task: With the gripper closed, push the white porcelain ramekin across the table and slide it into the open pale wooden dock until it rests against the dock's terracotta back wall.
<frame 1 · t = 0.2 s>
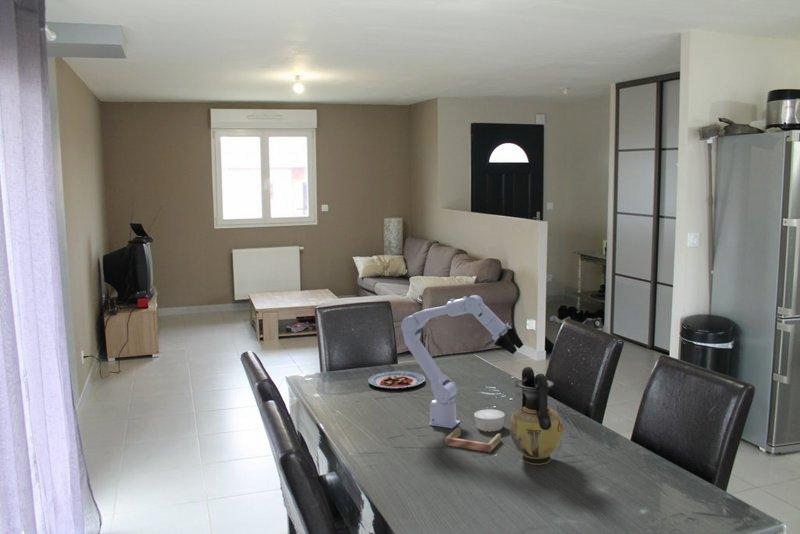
hand: (518, 349, 246), 31 cm above the table, tool tilted 45°, fingers open, 7 cm apart
ceramic plate: (396, 384, 316), on the table
ramekin: (489, 428, 257), on the table
coffee box: (524, 425, 258), on the table
amphora: (536, 460, 226), on the table
dock: (473, 442, 243), on the table
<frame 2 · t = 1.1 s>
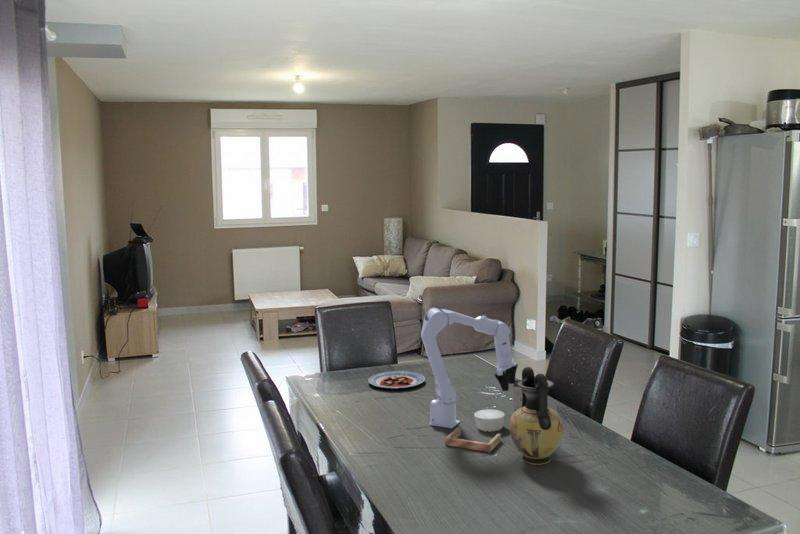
hand: (508, 387, 264), 12 cm above the table, tool pointing down, fingers open, 7 cm apart
nothing on the table moved.
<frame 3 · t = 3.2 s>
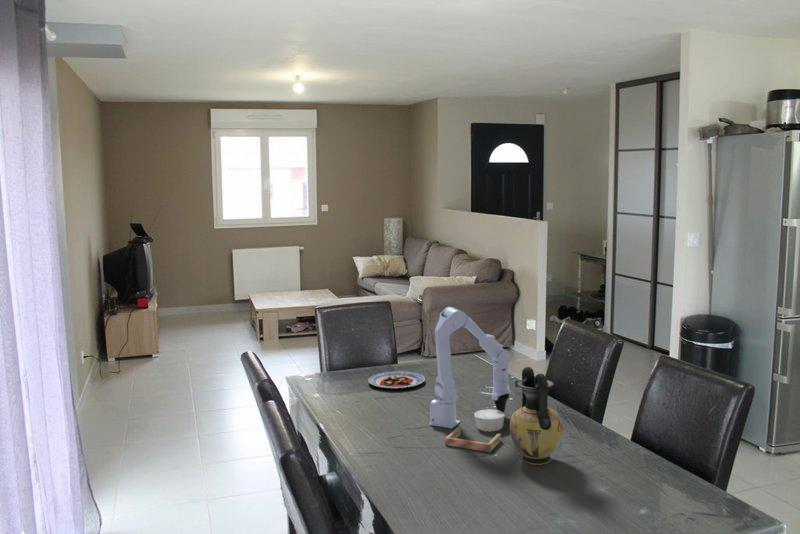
hand: (500, 412, 268), 1 cm above the table, tool pointing down, fingers closed
nothing on the table moved.
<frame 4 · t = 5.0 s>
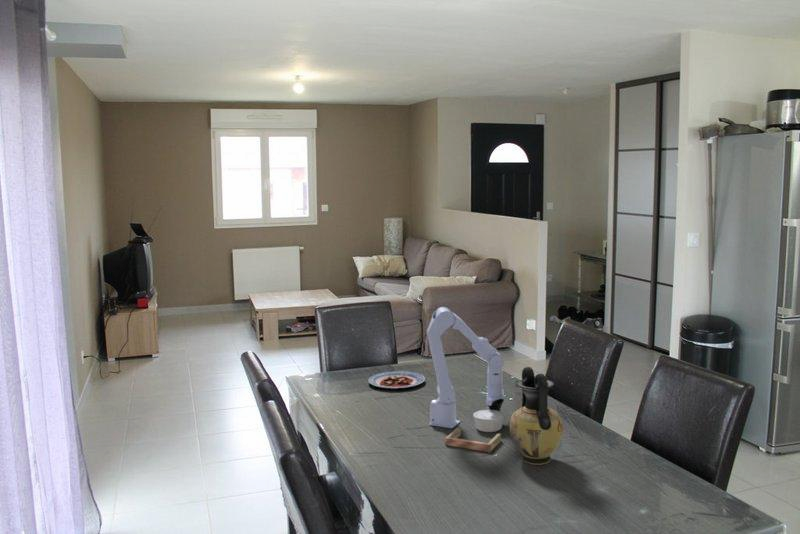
hand: (495, 418, 262), 1 cm above the table, tool pointing down, fingers closed
ramekin: (488, 428, 256), on the table, touching gripper
everything else where it was.
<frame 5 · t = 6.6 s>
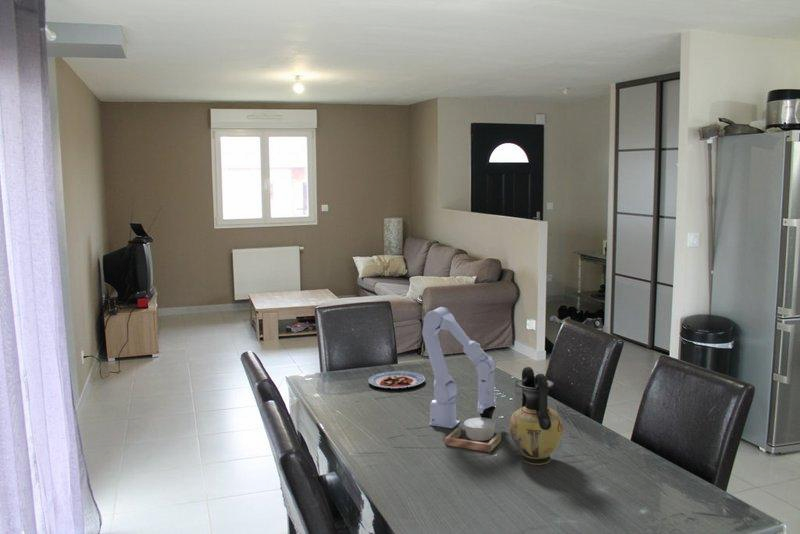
hand: (486, 426, 254), 1 cm above the table, tool pointing down, fingers closed
ramekin: (479, 437, 248), on the table, touching gripper
everything else where it was.
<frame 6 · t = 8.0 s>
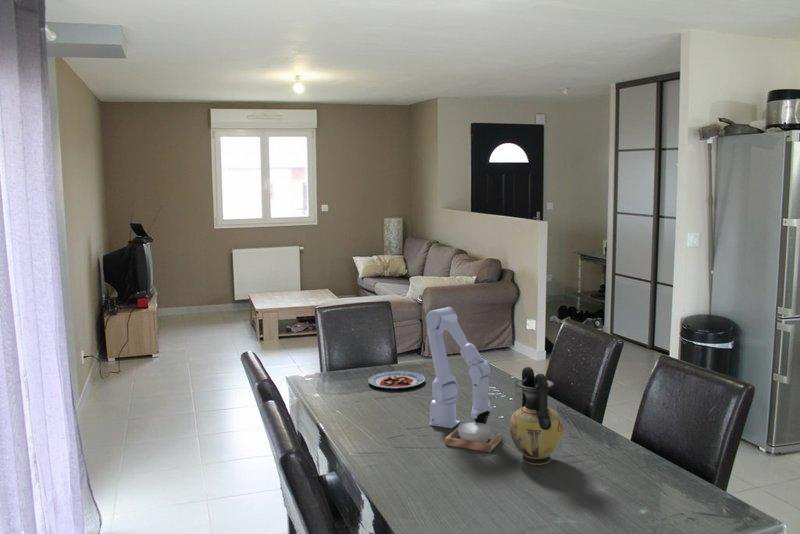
hand: (481, 431, 249), 1 cm above the table, tool pointing down, fingers closed
ramekin: (474, 442, 243), on the table, touching dock, gripper
everything else where it was.
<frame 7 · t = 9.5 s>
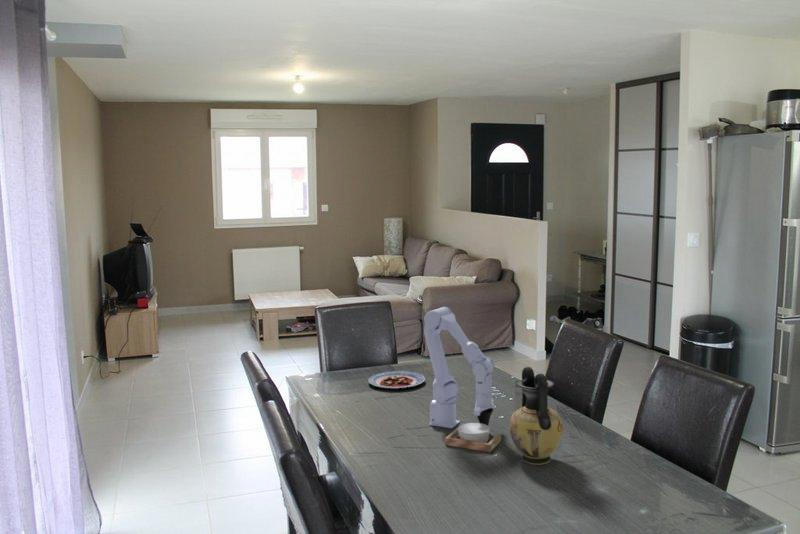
hand: (484, 428, 252), 1 cm above the table, tool pointing down, fingers closed
ramekin: (474, 443, 243), on the table
everything else where it was.
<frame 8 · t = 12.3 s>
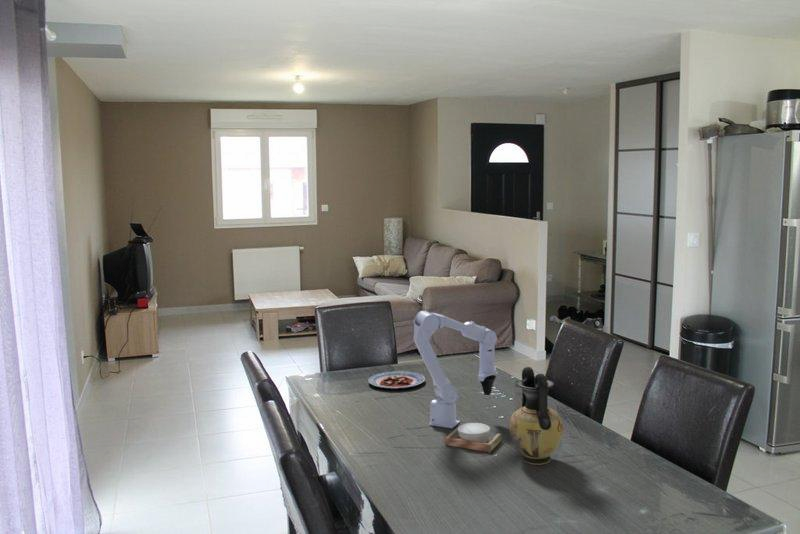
hand: (487, 394, 265), 9 cm above the table, tool pointing down, fingers closed
nothing on the table moved.
at the end: ramekin inside the target area on the dock (0.0 cm from its centre), point 0.0 cm above the dock's base; ramekin tilted 0°; ramekin moved 15.8 cm from its start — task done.
